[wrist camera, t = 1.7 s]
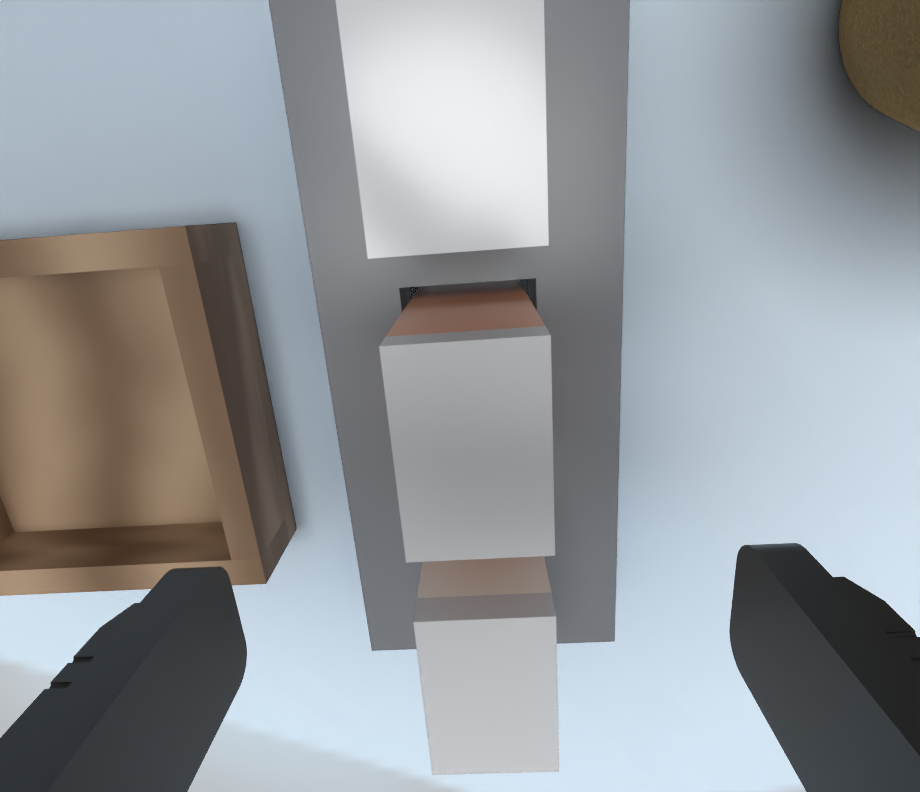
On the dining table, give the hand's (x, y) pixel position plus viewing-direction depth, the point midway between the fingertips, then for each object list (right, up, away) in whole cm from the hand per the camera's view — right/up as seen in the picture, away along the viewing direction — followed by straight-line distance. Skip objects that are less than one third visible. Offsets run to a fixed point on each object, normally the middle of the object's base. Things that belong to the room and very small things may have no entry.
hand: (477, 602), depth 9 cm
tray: (-16, +3, +16) cm, 22 cm away
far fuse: (+1, -3, +17) cm, 17 cm away
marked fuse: (0, +5, +15) cm, 15 cm away
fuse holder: (0, +5, +14) cm, 15 cm away
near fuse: (0, +13, +12) cm, 17 cm away
